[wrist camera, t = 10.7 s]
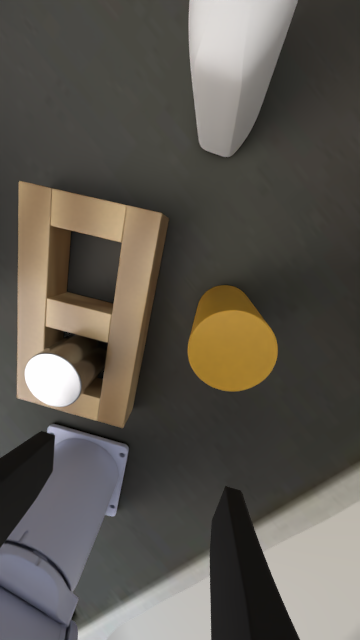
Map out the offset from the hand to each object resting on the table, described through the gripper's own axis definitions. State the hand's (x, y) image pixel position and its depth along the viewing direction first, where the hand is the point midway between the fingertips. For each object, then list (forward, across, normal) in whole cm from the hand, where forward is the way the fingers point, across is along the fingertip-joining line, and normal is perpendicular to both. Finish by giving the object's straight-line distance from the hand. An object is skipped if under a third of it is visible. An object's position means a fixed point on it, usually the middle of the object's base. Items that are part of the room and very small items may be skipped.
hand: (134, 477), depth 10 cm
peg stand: (+10, +7, -2) cm, 13 cm away
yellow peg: (+10, -3, -5) cm, 12 cm away
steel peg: (+10, +7, +1) cm, 13 cm away
